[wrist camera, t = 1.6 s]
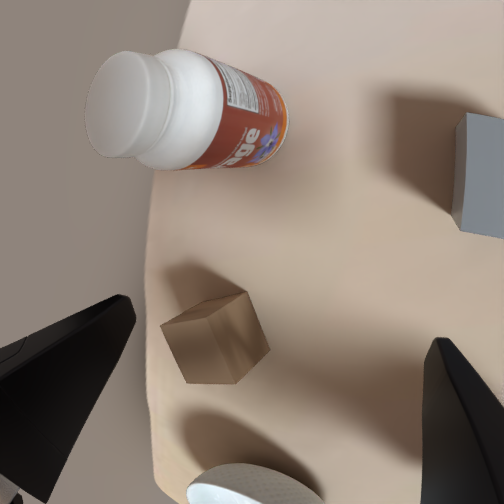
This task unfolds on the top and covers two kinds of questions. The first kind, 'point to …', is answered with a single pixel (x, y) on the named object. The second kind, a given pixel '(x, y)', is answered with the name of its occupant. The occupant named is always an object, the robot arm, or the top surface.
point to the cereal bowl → (248, 487)
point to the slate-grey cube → (479, 176)
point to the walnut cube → (217, 340)
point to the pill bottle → (183, 112)
